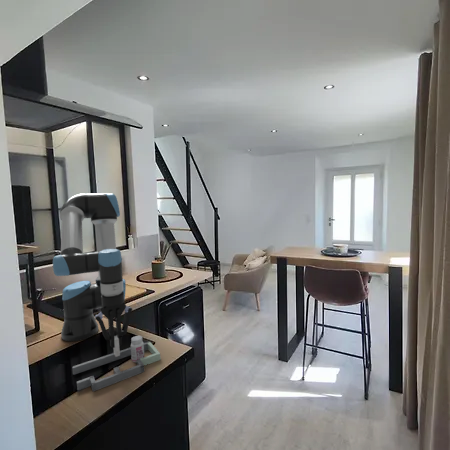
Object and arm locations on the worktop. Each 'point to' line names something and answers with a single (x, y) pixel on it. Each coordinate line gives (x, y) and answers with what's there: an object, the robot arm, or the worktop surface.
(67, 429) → the worktop surface
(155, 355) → the channel
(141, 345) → the pill bottle
